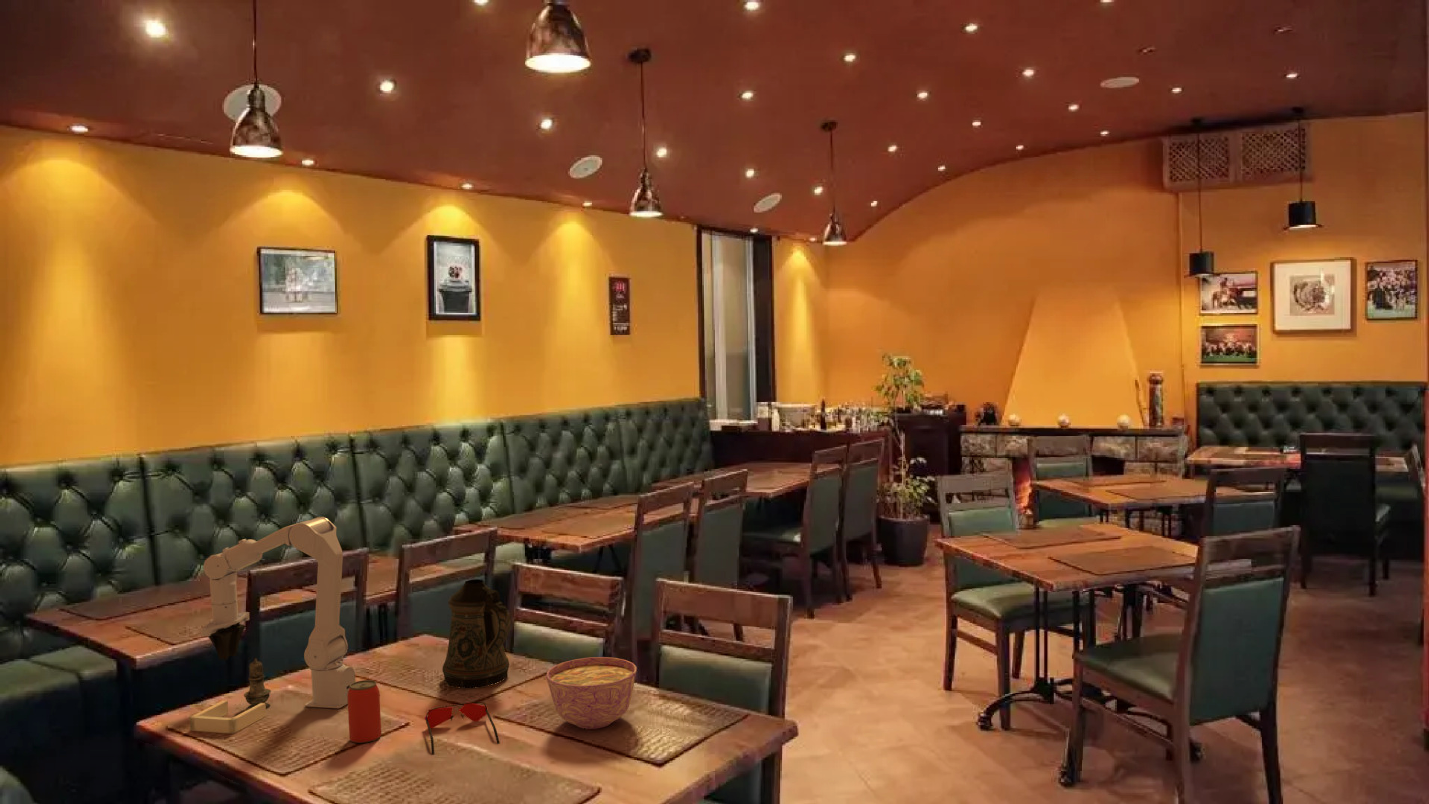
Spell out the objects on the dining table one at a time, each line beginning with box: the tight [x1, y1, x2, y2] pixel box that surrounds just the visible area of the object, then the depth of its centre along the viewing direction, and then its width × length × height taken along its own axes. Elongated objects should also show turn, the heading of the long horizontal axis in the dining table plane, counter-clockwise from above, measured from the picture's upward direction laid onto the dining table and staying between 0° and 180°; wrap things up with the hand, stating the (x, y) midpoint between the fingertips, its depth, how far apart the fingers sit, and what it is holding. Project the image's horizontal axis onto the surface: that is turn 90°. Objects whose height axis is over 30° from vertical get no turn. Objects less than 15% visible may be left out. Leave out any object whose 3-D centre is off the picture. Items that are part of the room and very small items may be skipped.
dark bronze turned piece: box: [243, 657, 272, 711], centre depth 242 cm, size 6×6×12 cm
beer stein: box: [441, 578, 512, 689], centre depth 258 cm, size 16×19×25 cm
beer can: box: [347, 679, 382, 744], centre depth 220 cm, size 7×7×12 cm
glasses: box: [424, 701, 501, 756], centre depth 221 cm, size 14×16×5 cm
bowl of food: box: [545, 656, 638, 730], centre depth 226 cm, size 20×20×12 cm
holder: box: [188, 700, 267, 735], centre depth 232 cm, size 11×11×3 cm
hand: (227, 657), depth 248 cm, fingers open, 2 cm apart
